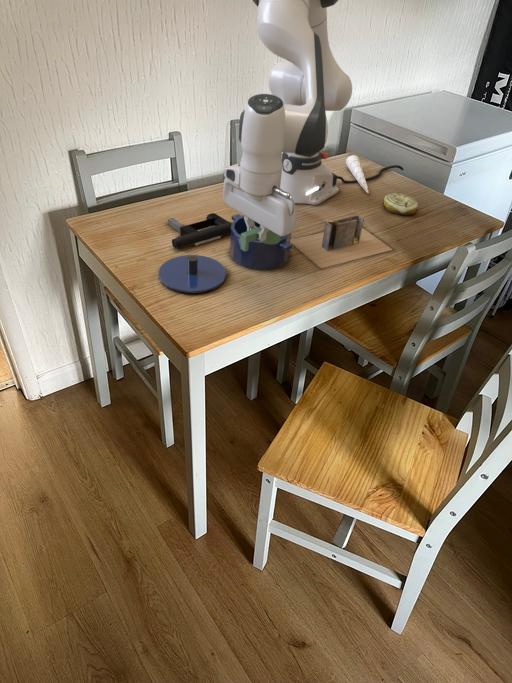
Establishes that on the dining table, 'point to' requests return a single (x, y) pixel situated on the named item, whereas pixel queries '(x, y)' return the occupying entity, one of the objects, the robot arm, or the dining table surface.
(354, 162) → the unicorn horn
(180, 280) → the lid
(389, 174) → the dining table surface
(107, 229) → the dining table surface
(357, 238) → the ruin model on sheet
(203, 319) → the dining table surface
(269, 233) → the scoop
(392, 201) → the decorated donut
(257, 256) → the pot
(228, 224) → the door handle
